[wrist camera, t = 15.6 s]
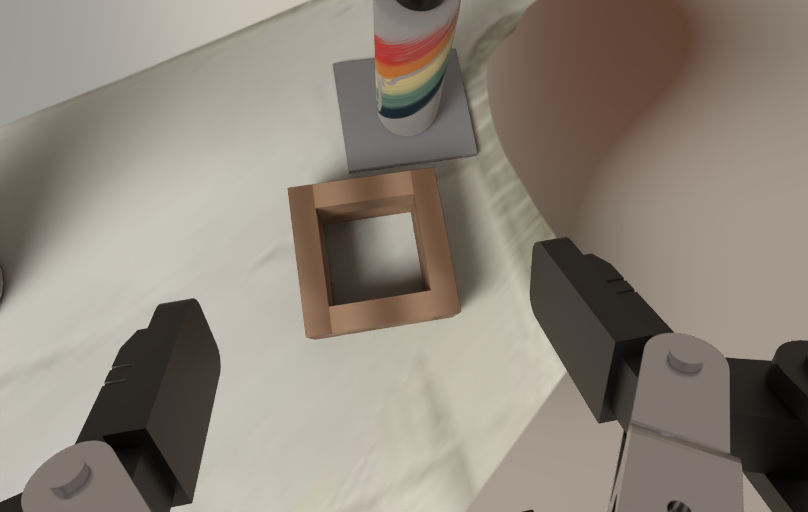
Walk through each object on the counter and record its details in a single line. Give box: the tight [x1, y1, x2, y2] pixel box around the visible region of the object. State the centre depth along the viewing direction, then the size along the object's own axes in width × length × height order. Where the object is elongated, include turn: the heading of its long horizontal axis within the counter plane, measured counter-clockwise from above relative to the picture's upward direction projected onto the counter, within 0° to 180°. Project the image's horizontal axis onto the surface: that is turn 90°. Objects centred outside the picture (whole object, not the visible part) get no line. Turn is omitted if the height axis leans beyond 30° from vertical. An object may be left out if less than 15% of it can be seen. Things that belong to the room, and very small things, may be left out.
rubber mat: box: [333, 49, 477, 173], centre depth 46 cm, size 12×11×1 cm
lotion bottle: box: [373, 0, 461, 136], centre depth 36 cm, size 6×6×20 cm
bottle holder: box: [288, 167, 461, 340], centre depth 41 cm, size 12×12×5 cm
